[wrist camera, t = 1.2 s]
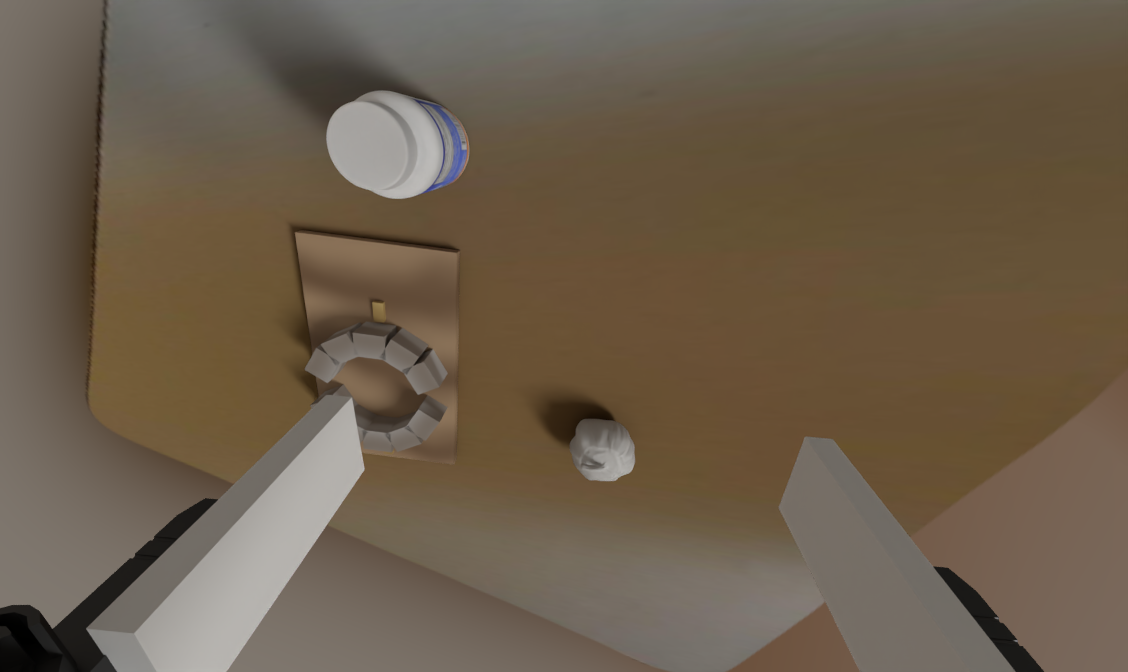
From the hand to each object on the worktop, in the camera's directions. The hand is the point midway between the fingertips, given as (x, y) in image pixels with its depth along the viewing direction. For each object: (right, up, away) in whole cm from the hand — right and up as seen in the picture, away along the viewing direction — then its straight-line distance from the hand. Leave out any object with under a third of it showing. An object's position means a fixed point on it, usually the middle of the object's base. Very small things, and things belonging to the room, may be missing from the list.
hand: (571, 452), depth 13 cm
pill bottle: (-9, +17, +17) cm, 25 cm away
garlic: (+3, -5, +26) cm, 27 cm away
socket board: (-15, +2, +24) cm, 28 cm away
